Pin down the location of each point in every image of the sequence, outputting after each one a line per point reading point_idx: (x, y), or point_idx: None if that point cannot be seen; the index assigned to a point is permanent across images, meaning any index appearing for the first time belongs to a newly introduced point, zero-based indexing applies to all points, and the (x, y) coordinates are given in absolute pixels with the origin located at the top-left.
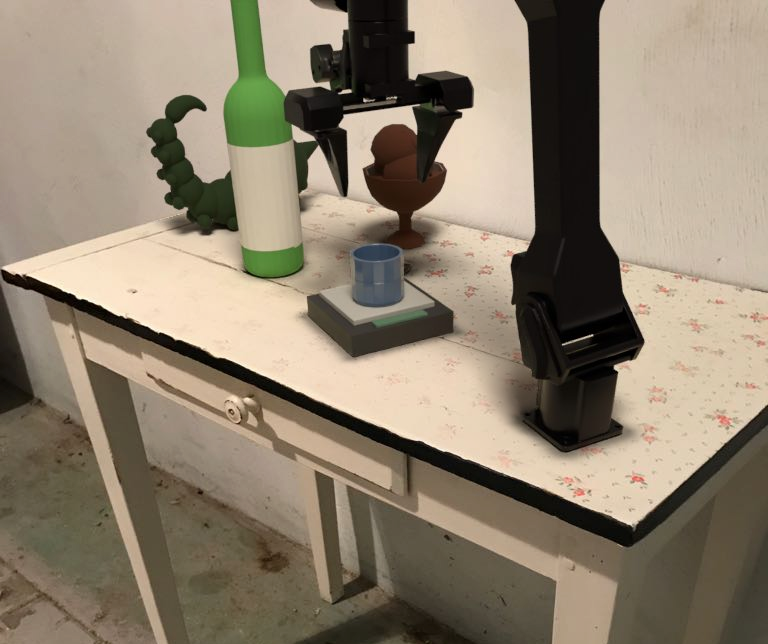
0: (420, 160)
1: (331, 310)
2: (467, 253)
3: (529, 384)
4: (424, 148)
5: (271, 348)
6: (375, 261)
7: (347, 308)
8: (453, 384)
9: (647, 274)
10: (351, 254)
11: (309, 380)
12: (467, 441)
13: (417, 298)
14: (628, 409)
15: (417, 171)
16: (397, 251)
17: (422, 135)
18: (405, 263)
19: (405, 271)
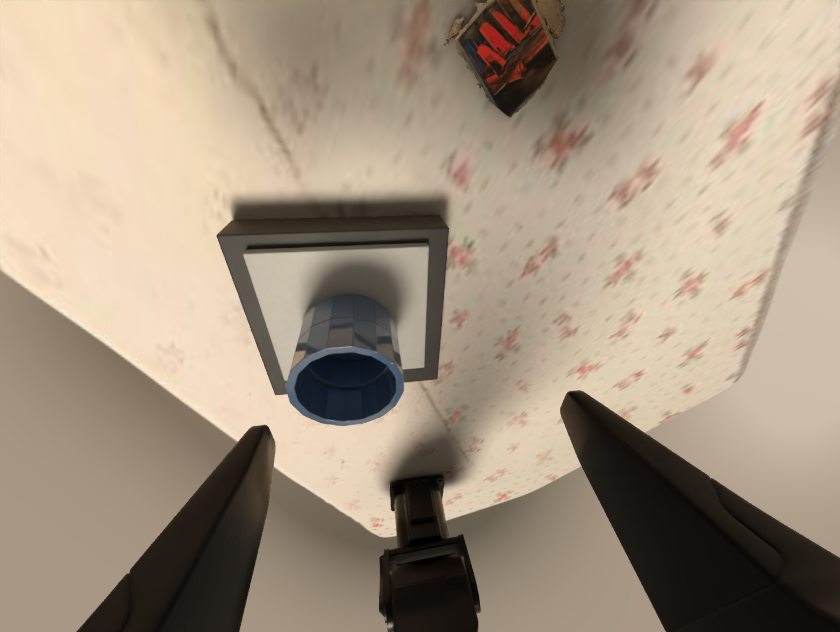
0: (610, 469)
1: (260, 317)
2: (704, 58)
3: (429, 450)
4: (643, 532)
5: (151, 309)
6: (328, 421)
7: (285, 344)
8: (368, 438)
9: (737, 313)
10: (290, 383)
11: (213, 398)
12: (338, 490)
13: (407, 352)
14: (465, 483)
15: (587, 417)
16: (395, 381)
17: (708, 580)
18: (549, 45)
19: (512, 107)
